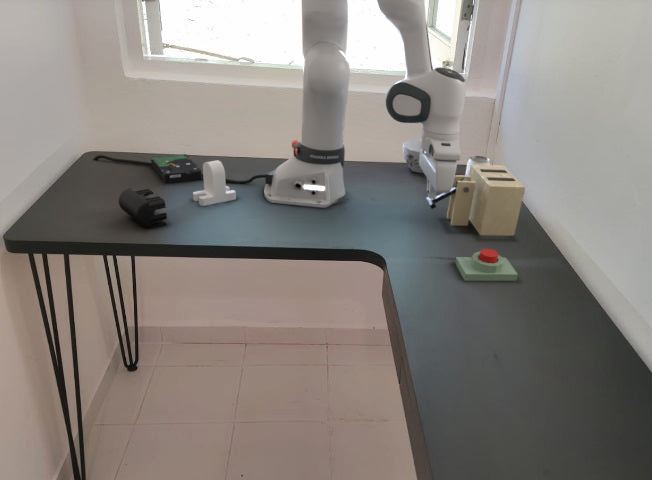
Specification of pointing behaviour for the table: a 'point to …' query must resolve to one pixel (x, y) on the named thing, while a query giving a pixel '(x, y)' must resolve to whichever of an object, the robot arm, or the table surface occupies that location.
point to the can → (476, 162)
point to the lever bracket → (461, 201)
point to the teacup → (412, 154)
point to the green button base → (485, 269)
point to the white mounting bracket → (214, 185)
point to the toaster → (495, 200)
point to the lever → (442, 196)
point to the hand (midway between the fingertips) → (430, 196)
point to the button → (488, 256)
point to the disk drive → (176, 168)
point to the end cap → (143, 207)
